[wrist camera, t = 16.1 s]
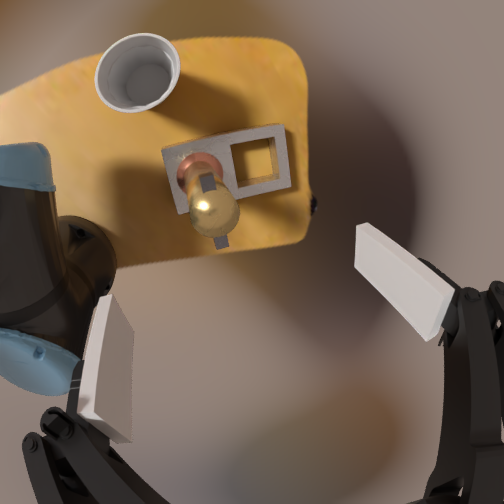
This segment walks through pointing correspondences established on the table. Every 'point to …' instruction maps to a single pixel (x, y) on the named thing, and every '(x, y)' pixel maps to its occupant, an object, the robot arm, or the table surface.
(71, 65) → the table surface
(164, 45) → the cup
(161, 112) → the table surface
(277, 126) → the plate with copper dome
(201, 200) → the brass cylinder with tabs
